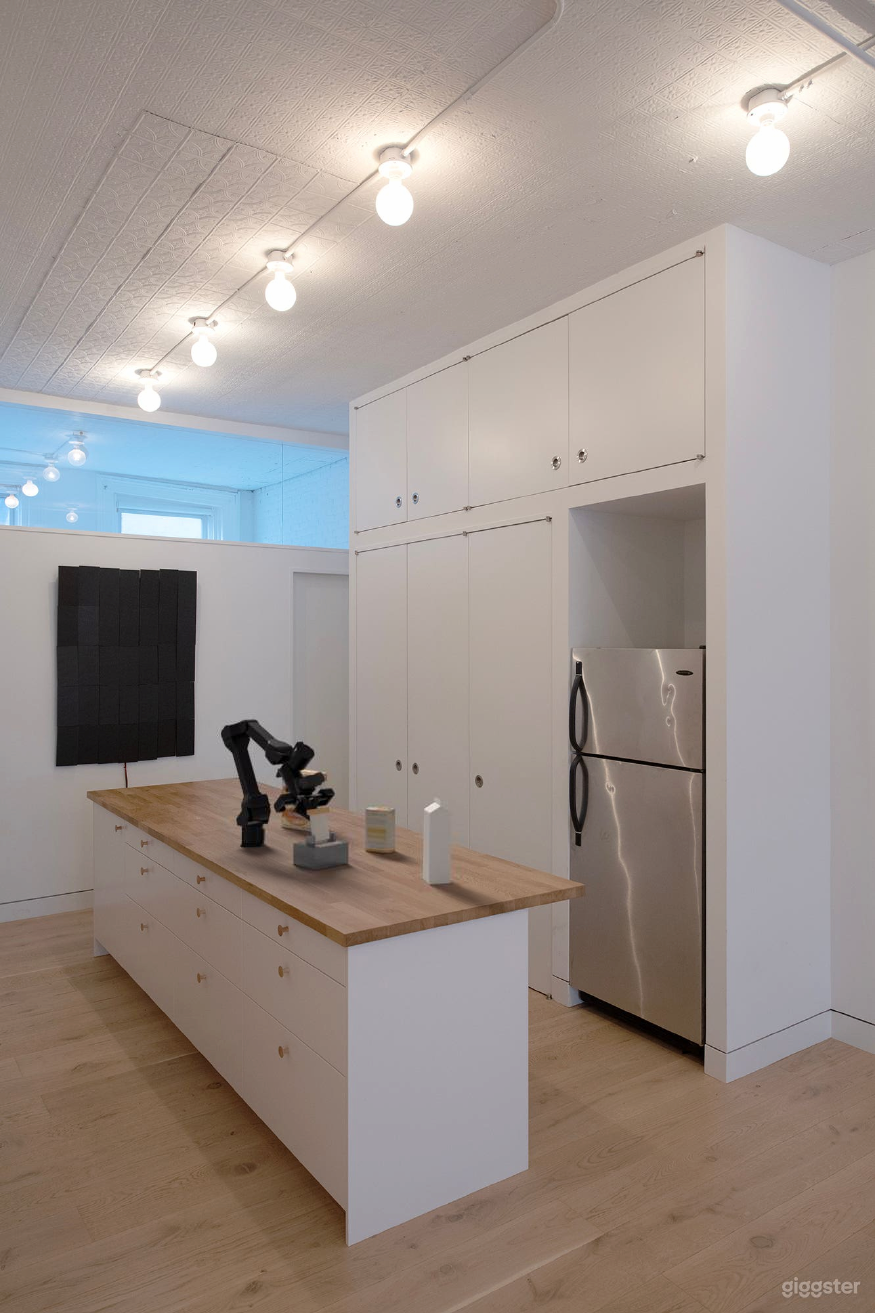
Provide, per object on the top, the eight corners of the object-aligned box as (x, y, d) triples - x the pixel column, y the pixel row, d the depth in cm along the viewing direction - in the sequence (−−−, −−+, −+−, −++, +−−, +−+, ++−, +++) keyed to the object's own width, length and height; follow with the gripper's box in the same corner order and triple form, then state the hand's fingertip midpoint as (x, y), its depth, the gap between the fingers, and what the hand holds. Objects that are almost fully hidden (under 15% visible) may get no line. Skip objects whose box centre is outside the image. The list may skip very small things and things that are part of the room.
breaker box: (293, 864, 251) (293, 834, 251) (326, 857, 260) (326, 829, 260) (315, 870, 245) (315, 840, 244) (348, 863, 253) (348, 834, 253)
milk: (429, 885, 231) (429, 801, 231) (422, 879, 237) (423, 797, 237) (451, 883, 233) (451, 800, 233) (444, 877, 239) (445, 796, 239)
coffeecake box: (280, 827, 304) (281, 770, 304) (295, 823, 310) (295, 768, 309) (312, 832, 295) (313, 774, 295) (327, 829, 301) (327, 771, 301)
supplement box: (395, 850, 270) (396, 808, 270) (388, 854, 265) (388, 810, 265) (372, 848, 273) (372, 805, 273) (364, 851, 269) (364, 808, 269)
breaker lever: (310, 841, 251) (306, 810, 252) (326, 838, 255) (323, 807, 256) (315, 841, 249) (312, 809, 250) (332, 838, 254) (328, 807, 255)
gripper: (280, 766, 250) (303, 810, 243) (331, 760, 264) (355, 803, 256) (263, 790, 256) (285, 834, 248) (314, 783, 269) (337, 825, 262)
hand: (317, 823), depth 254 cm, fingers closed, pressing on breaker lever
